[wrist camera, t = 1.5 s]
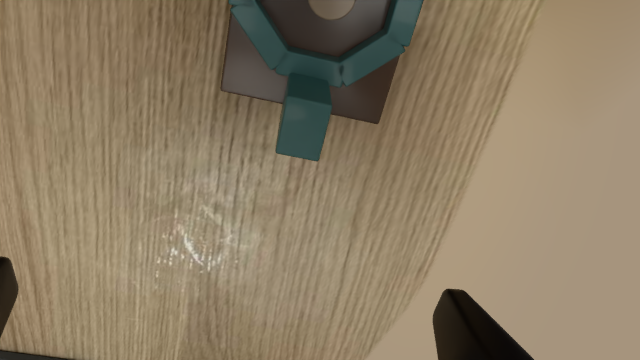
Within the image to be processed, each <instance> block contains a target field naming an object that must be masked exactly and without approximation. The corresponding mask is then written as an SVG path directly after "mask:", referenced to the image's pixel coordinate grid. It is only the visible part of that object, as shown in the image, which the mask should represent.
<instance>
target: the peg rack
mask: <svg viewBox="0 0 640 360" xmlns="http://www.w3.org/2000/svg"><path fill="white" fill-rule="evenodd" d="M260 2H261V4H262V5H263V7H264V8H265V10H266V11H267V13H268V14H269V16H270V17H271V19H272V21H273V22H274V24H275V25H276V27H277V28H278V30H279V31H280V33H281V35H282V36H283V38H284V39H285V41H286V42H287V44H288V45H289V46H292V47H296V48H300V49H305V50H309V51H313V52H318V53H322V54H327V55H331V56H335V57H340V56H341V55H343V54H344V53H346V52H347V51H349V50H351V49H352V48H354V47H355V46H357V45H359V44H360V43H362V42H363V41H365V40H367V39H368V38H370V37H371V36H373V35H375V34H376V33H378V32H379V31H381V30H383V28H384V25H385V21H386V18H387V14H388V11H389V7H390V4H391V0H260ZM233 6H234V5H232V6H231V8H232V7H233ZM399 56H400V55H399ZM399 56H397V57H395V58H394V59H392V60H390V61H389V62H387V63H385V64H384V65H382V66H380V67H379V68H377V69H375V70H374V71H372V72H371V73H369V74H367V75H366V76H364V77H362V78H361V79H359V80H357V81H356V82H354V83H352V84H351V85H349V86H348V87H346V86H345V85H344V84H343V83H342V86H341V87H340V88H338V87H334V86H329V88H330V94H331V101H332V111H331V114H332V115H337V116H342V117H346V118H351V119H356V120H360V121H365V122H370V123H374V124H378V123H379V121H380V118H381V114H382V111H383V108H384V105H385V101H386V98H387V95H388V92H389V89H390V85H391V82H392V79H393V76H394V72H395V69H396V66H397V63H398V60H399ZM287 81H288V76H284V75H280V74H277V73H276V68H275V69H273V70H270V68H269V67H268V65H267V64H266V63H265V61H264V60H263V58H262V57H261V55H260V54H259V52H258V51H257V49H256V48H255V46H254V45H253V43H252V42H251V40H250V39H249V38H248V36H247V35H246V33H245V32H244V30H243V29H242V27H241V26H240V24H239V23H238V21H237V20H236V18H235V17H234V15H233V14H232V13H230V20H229V28H228V35H227V43H226V50H225V58H224V65H223V73H222V80H221V88H220V89H221V91H224V92H229V93H234V94H238V95H243V96H248V97H252V98H257V99H262V100H267V101H271V102H276V103H281V104H283V101H284V96H285V91H286V86H287Z"/></svg>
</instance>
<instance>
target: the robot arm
mask: <svg viewBox="0 0 640 360" xmlns="http://www.w3.org/2000/svg"><path fill="white" fill-rule="evenodd" d="M17 295H18V283H17V280H16V276H15V273H14V269H13V266H12V263H11V260H10V259H9V258H7V257H0V338H1V335H2V333H3V330H4V328H5V325H6V323H7V320H8V318H9V315H10V313H11V310H12V308H13V306H14V303H15V301H16V298H17ZM433 327H434V334H435V340H436V347H437V354H438V360H534V359H533V358H532V357H531V356H530V355H529V354H528V353H527V352H526V351H525V350H524V349H523V348H522V347H521V346H520V345H519V344H518V343H517V342H516V341H515V340H514V339H513V338H512V337H511V336H510V335H509V334H508V333H507V332H506V331H505V330H504V329H503V328H502V327H501V326H500V325H499V324H498V323H497V322H496V321H495V320H494V319H493V318H492V317H491V316H490V315H489V314H488V313H487V312H486V311H484V309H483V308H482V307H481V306H479V305H478V304H477V303H476V302H475V301H474V300H473V299H472V298H471V297H470V296H469V295H468V294H467V293H466V292H465V291H463V290H459V289H446V290H445V291H444V292H443V293H442V295H441V297H440V300H439V302H438V304H437V306H436V309H435V311H434V314H433Z"/></svg>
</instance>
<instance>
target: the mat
mask: <svg viewBox="0 0 640 360" xmlns="http://www.w3.org/2000/svg"><path fill="white" fill-rule="evenodd" d="M0 360H66V359H58V358H50V357H43V356H35V355H28V354H20V353H12V352H5V351H0Z"/></svg>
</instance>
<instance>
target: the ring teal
mask: <svg viewBox="0 0 640 360" xmlns="http://www.w3.org/2000/svg"><path fill="white" fill-rule="evenodd" d="M228 2H229V4H230V5H234V6H233V7H232V8H231V9H230V11H231V13H232V14H233V15H234V17H235V18H236V20H237V21H238V23H239V24H240V26H241V27H242V29H243V30H244V32H245V33H246V35H247V36H248V38H249V39H250V40H251V42H252V43H253V45H254V46H255V48H256V49H257V51H258V52H259V54H260V55H261V57H262V58H263V60H264V61H265V63H266V64H267V65H268V67H269V68H270V70H273V69H275V68H276V73H277V74H280V75H284V76H288V81H287V86H286V91H285V96H284V101H283V106H282V111H281V116H280V123H279V130H278V137H277V144H276V153H278V154H283V155H288V156H293V157H298V158H303V159H308V160H313V161H318V160H319V158H320V154H321V150H322V146H323V142H324V138H325V134H326V130H327V127H328V123H329V119H330V115H331V111H332V101H331V94H330V88H329V86H334V87H338V88H340V87H341V86H342V83H343V84H344V85H345V86H346V87H348V86H349V85H351V84H352V83H354V82H356V81H357V80H359V79H361V78H362V77H364V76H366V75H367V74H369V73H371V72H372V71H374V70H375V69H377V68H379V67H380V66H382V65H384V64H385V63H387V62H389V61H390V60H392V59H394V58H395V57H397V56H399V55H400V54H402V53H403V52H405V49H404V47H403V46H406V47H407V46H409V45H410V41H411V38H412V35H413V32H414V29H415V26H416V22H417V19H418V16H419V13H420V10H421V7H422V4H423V0H391V4H390V7H389V11H388V14H387V18H386V21H385V25H384V28H383V30H381V31H379V32H378V33H376V34H375V35H373V36H371V37H370V38H368V39H367V40H365V41H363V42H362V43H360V44H359V45H357V46H355V47H354V48H352V49H351V50H349V51H347V52H346V53H344V54H343V55H341V56H340V57H335V56H331V55H327V54H322V53H318V52H313V51H309V50H305V49H300V48H296V47H292V46H289V45H288V44H287V42H286V41H285V39H284V38H283V36H282V35H281V33H280V31H279V30H278V28H277V27H276V25H275V24H274V22H273V21H272V19H271V17H270V16H269V14H268V13H267V11H266V10H265V8H264V7H263V5H262V4H261V2H260V0H229V1H228Z"/></svg>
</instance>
